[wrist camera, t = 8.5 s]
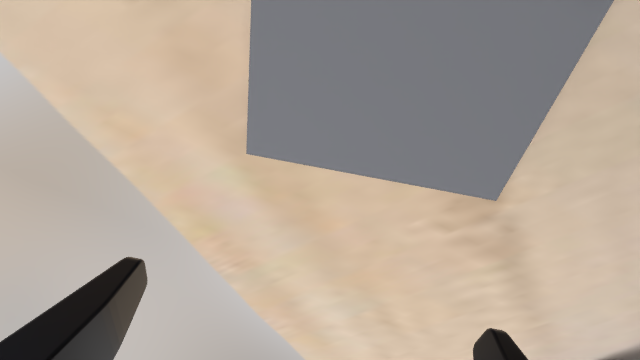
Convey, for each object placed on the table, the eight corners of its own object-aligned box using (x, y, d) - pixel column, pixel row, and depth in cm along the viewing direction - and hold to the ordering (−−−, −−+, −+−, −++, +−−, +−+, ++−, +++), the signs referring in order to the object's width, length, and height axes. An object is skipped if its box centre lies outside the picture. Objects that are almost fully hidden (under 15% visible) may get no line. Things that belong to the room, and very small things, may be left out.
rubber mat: (681, -131, 13) (691, -132, 12) (493, 195, 21) (496, 200, 21) (261, -210, 13) (258, -215, 12) (248, 149, 21) (246, 153, 21)
